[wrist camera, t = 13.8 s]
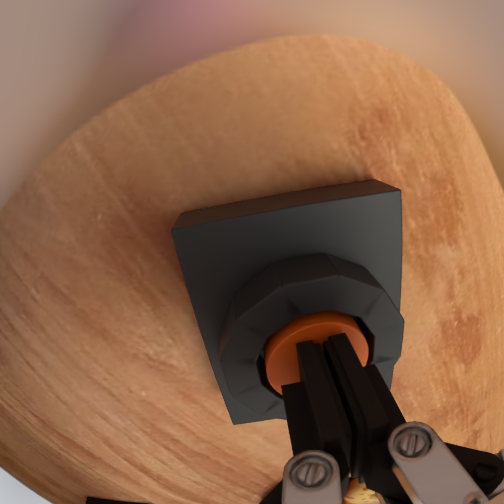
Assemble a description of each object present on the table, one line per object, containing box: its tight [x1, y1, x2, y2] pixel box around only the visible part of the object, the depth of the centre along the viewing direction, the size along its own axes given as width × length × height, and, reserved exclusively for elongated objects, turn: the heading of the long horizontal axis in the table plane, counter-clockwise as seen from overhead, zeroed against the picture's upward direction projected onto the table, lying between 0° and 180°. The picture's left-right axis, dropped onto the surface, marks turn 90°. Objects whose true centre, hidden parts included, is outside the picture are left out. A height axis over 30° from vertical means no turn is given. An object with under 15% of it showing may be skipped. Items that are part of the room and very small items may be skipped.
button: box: [263, 310, 368, 395], centre depth 11 cm, size 4×4×2 cm
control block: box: [171, 179, 404, 425], centre depth 12 cm, size 10×8×4 cm
